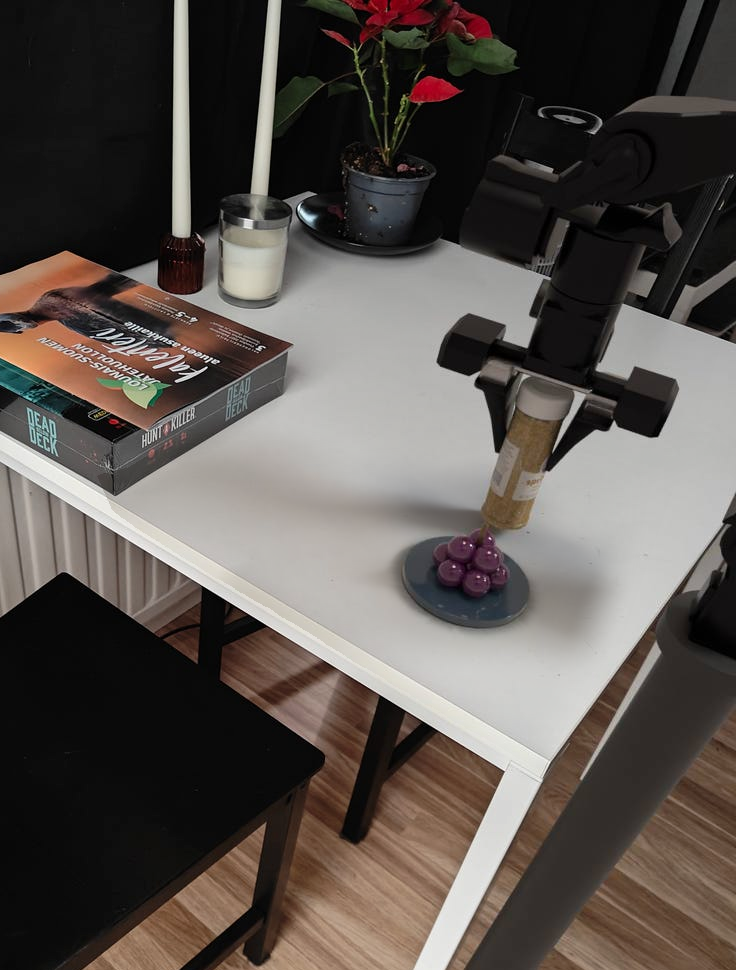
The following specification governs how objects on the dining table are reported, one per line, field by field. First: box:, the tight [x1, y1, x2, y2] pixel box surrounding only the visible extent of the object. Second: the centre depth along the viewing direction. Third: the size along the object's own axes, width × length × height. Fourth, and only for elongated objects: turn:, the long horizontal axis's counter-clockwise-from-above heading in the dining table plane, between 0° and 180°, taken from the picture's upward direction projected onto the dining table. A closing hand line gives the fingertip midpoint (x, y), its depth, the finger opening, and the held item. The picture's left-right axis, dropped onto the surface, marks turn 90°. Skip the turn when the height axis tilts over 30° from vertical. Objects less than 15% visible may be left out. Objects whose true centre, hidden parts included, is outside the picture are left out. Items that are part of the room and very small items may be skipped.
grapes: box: [401, 521, 531, 628], centre depth 76 cm, size 11×11×7 cm
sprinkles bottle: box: [480, 376, 576, 531], centre depth 79 cm, size 5×5×14 cm
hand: (523, 460), depth 79 cm, fingers closed on sprinkles bottle, 4 cm apart
